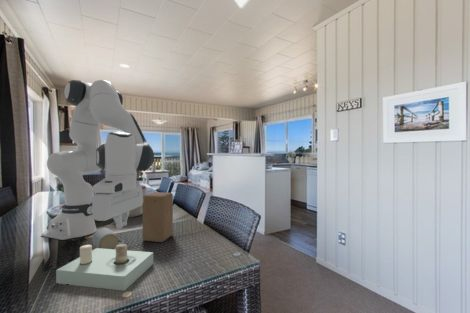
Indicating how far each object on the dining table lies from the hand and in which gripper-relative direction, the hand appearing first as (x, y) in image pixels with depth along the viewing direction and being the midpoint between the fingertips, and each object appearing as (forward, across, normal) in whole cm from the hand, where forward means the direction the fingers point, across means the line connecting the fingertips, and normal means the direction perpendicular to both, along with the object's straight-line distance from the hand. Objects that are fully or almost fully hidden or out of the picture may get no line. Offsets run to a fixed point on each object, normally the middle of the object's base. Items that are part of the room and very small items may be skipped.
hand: (121, 226), depth 74 cm
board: (+15, 0, -4) cm, 16 cm away
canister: (+15, -64, -38) cm, 76 cm away
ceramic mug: (+15, -18, -18) cm, 29 cm away
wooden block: (+15, -31, -4) cm, 35 cm away
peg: (+15, 0, 0) cm, 15 cm away
